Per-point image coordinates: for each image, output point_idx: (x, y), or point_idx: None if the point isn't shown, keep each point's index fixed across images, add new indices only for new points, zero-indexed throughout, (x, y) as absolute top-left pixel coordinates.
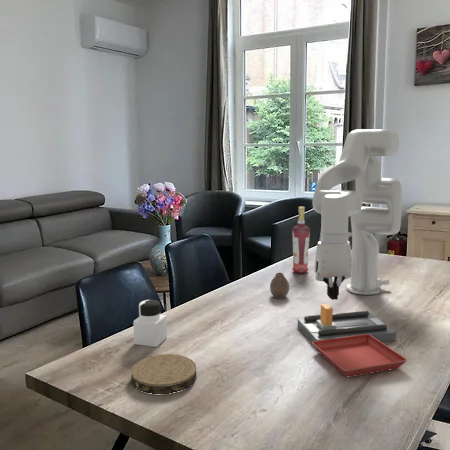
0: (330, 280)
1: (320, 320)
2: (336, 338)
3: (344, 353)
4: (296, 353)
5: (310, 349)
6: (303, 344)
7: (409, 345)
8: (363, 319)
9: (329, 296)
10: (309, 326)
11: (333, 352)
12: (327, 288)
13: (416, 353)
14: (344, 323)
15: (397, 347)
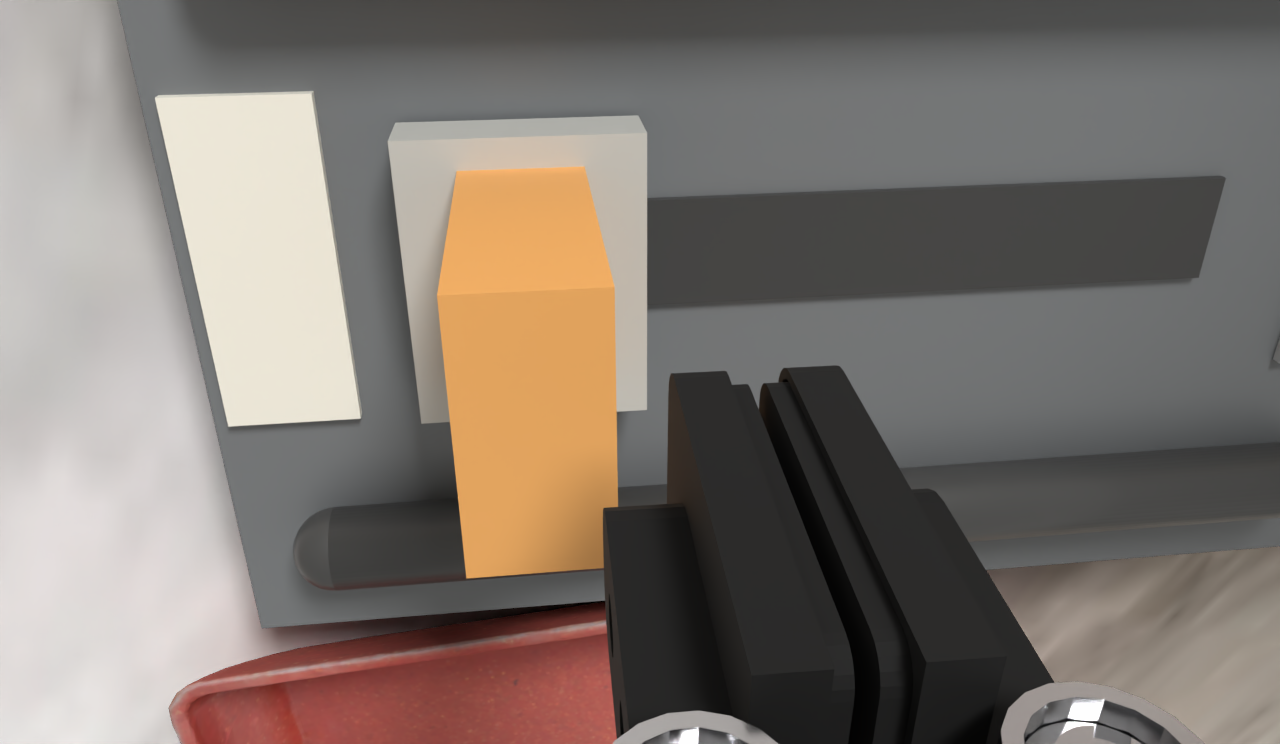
0: None
1: (455, 178)
2: (521, 644)
3: (539, 729)
4: (7, 635)
5: (199, 567)
6: (129, 439)
7: (1277, 592)
8: (1273, 61)
9: (674, 460)
10: (237, 215)
11: (432, 703)
12: (620, 675)
13: (1199, 726)
14: (883, 169)
15: (1139, 617)
